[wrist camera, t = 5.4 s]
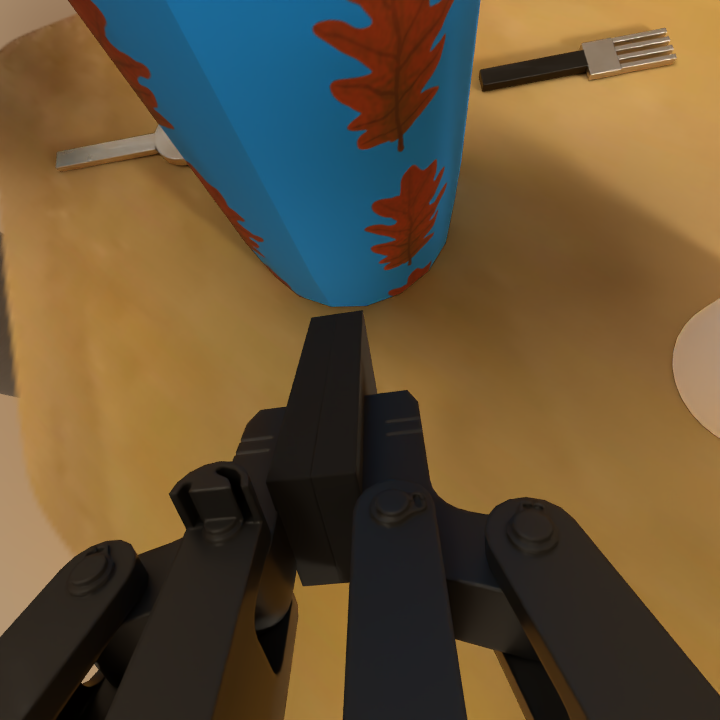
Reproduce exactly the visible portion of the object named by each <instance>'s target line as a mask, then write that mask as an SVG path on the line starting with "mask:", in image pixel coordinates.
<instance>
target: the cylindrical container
mask: <svg viewBox="0 0 720 720" xmlns="http://www.w3.org/2000/svg"><path fill="white" fill-rule="evenodd" d="M672 368H673V373H674V379H675V384H676V386H677V388H678V391H679V393H680V396H681V398H682V400H683V402H684V403H685V405H686V406H687V408H688V409H689V411H690V412H691V414H692V415H693V416H694V417H695V418H696V419H697V420H698V421H699V422H700V423H701V424H702V425H703V426H704V427H705V428H706V429H708V430H709V431H710V432H711V433H713V434H714V435H715V436H716V437H718V438H720V298H719V299H717V300H716V301H714V302H713V303H711V304H709V305H708V306H706V307H705V308H703V309H702V310H700V311H699V312H698V313H696V314H695V315H694V316H693V317H692V318H691V319H690V320H689V321H688V322H687V323H686V324H685V325H684V327H683V329H682V330H681V332H680V334H679V335H678V337H677V340H676V344H675V347H674V350H673V365H672Z"/></svg>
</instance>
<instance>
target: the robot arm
mask: <svg viewBox="0 0 720 720" xmlns="http://www.w3.org/2000/svg"><path fill="white" fill-rule="evenodd" d="M169 496H170V498H171V500H172V502H173V504H174V506H175V508H176V510H177V512H178V514H179V516H180V518H181V520H182V522H183V524H184V525H185V527H186V532H185V534H184V536H183V538H181V539H178V540H176V541H174V542H172V543H169V544H166V545H164V546H161V547H158V548H155V549H153V550H150V551H147V552H144V553H142V554H139V555H137V554H136V552H135V550H134V549H133V547H132V545H131V544H129V543H127V542H125V541H122V540H113V541H105V542H102V543H100V544H97V545H94V546H91V547H90V548H88V549H86V550H85V551H83V552H81V553H80V554H78V555H77V556H75V557H74V558H73V559H72V560H71V561H69V562H68V563H67V564H66V565H65V566H64V567H63V568H62V569H61V570H60V571H59V572H58V573H57V574H56V575H55V576H54V578H53V579H52V580H51V581H50V582H49V583H48V584H47V585H46V587H45V588H44V589H43V590H42V591H41V592H40V593H39V594H38V595H37V597H36V598H35V599H34V600H33V601H32V602H31V603H30V605H29V606H28V607H27V608H26V609H25V610H24V611H23V612H22V613H21V614H20V616H19V617H18V618H17V619H16V620H15V621H14V622H13V623H12V625H11V626H10V627H9V628H8V629H7V630H6V631H5V632H4V633H3V635H2V636H1V637H0V720H284V715H285V707H286V700H287V693H288V686H289V679H290V672H291V665H292V657H293V650H294V643H295V636H296V629H297V622H298V604H297V601H296V599H295V596H294V593H293V589H294V582H295V576H296V570H297V572H298V575H299V577H300V580H301V583H302V586H313V585H325V584H337V583H349V582H350V585H349V605H348V625H347V646H346V666H345V687H344V707H343V720H467V714H466V708H465V701H464V695H463V688H462V682H461V675H460V668H459V662H458V655H457V649H456V642H455V639H457V640H461V641H464V642H468V643H471V644H475V645H478V646H482V647H486V648H489V649H493V650H494V652H495V654H496V656H497V658H498V660H499V663H500V665H501V667H502V669H503V671H504V673H505V675H506V678H507V680H508V682H509V684H510V686H511V688H512V690H513V693H514V695H515V697H516V699H517V701H518V703H519V705H520V708H521V710H522V712H523V714H524V716H525V718H526V720H720V695H719V694H718V693H717V692H716V690H715V689H714V688H713V687H712V686H711V684H710V683H709V682H708V681H707V680H706V678H705V677H704V676H703V675H702V673H701V672H700V671H699V670H698V669H697V667H696V666H695V665H694V664H693V663H692V661H691V660H690V659H689V658H688V657H687V655H686V654H685V653H684V652H683V650H682V649H681V648H680V647H679V646H678V644H677V643H676V642H675V641H674V640H673V638H672V637H671V636H670V635H669V633H668V632H667V631H666V630H665V629H664V627H663V626H662V625H661V624H660V623H659V621H658V620H657V619H656V618H655V616H654V615H653V614H652V613H651V612H650V610H649V609H648V608H647V607H646V606H645V604H644V603H643V602H642V601H641V599H640V598H639V597H638V596H637V595H636V593H635V592H634V591H633V590H632V589H631V587H630V586H629V585H628V584H627V583H626V581H625V580H624V579H623V578H622V576H621V575H620V574H619V573H618V572H617V570H616V569H615V568H614V567H613V566H612V564H611V563H610V562H609V561H608V559H607V558H606V557H605V556H604V555H603V553H602V552H601V551H600V550H599V549H598V547H597V546H596V545H595V544H594V542H593V541H592V540H591V539H590V538H589V536H588V535H587V534H586V533H585V532H584V530H583V529H582V528H581V527H580V525H579V524H578V523H577V522H576V521H575V519H574V518H572V517H571V516H570V515H569V514H568V513H567V512H565V511H564V510H563V509H562V508H561V507H559V506H556V505H554V504H552V503H550V502H548V501H545V500H541V499H535V498H528V497H523V498H516V499H509V500H507V501H505V502H503V503H501V504H499V505H497V506H495V508H494V509H493V510H492V511H491V513H490V514H489V515H487V514H481V513H475V512H470V511H466V510H462V509H458V508H456V507H454V506H452V505H450V504H448V503H446V502H445V501H444V500H443V499H441V498H440V497H439V496H438V495H437V493H436V492H435V491H434V489H433V487H432V484H431V481H430V476H429V470H428V463H427V457H426V450H425V444H424V437H423V431H422V424H421V418H420V411H419V405H418V401H417V400H416V399H415V398H414V397H413V396H412V395H411V394H410V393H409V392H408V391H407V390H404V391H396V392H388V393H380V394H377V389H376V383H375V378H374V372H373V366H372V360H371V355H370V349H369V343H368V338H367V332H366V326H365V321H364V315H363V310H361V311H354V312H348V313H341V314H334V315H327V316H320V317H313V318H311V321H310V324H309V328H308V332H307V335H306V339H305V342H304V346H303V350H302V353H301V357H300V360H299V364H298V367H297V371H296V375H295V378H294V382H293V385H292V389H291V393H290V396H289V400H288V403H287V407H280V408H272V409H264V410H260V411H259V412H258V413H257V414H256V415H255V416H254V417H253V418H252V419H251V420H250V421H249V423H248V424H247V425H246V428H245V430H244V433H243V435H242V438H241V443H239V446H238V448H237V451H236V456H234V459H233V461H232V462H225V461H219V462H215V463H211V464H207V465H204V466H202V467H200V468H198V469H196V470H194V471H192V472H190V473H189V474H187V475H186V476H185V477H184V478H182V479H181V480H180V481H178V482H177V484H176V485H175V486H174V488H173V489H172V490H171V492H170V493H169ZM94 664H95V665H96V667H97V668H98V669H99V670H98V671H97V673H95V675H94V676H93V677H92V678H91V679H90V680H89V681H87V682H85V683H83V684H82V683H81V682H82V680H83V679H84V678H85V676H86V675H87V673H88V672H89V670H90V669H91V667H92V666H93V665H94Z"/></svg>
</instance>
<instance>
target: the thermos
mask: <svg viewBox="0 0 720 720" xmlns="http://www.w3.org/2000/svg"><path fill="white" fill-rule="evenodd" d="M68 1H69V2H70V4H71V5H72V6H73V8H74V9H75V11H76V12H77V13H78V15H79V16H80V17H81V19H82V20H83V21H84V23H85V24H86V26H87V27H88V28H89V30H90V31H91V32H92V34H93V35H94V37H95V38H96V39H97V41H98V42H99V43H100V45H101V46H102V47H103V49H104V50H105V52H106V53H107V54H108V56H109V57H110V58H111V60H112V61H113V62H114V64H115V65H116V67H117V68H118V69H119V71H120V72H121V73H122V75H123V76H124V77H125V79H126V80H127V82H128V83H129V84H130V86H131V87H132V88H133V90H134V91H135V92H136V94H137V95H138V97H139V98H140V99H141V101H142V102H143V103H144V105H145V106H146V108H147V109H148V110H149V112H150V113H151V114H152V116H153V117H154V118H155V120H156V121H157V123H158V124H159V125H160V127H161V128H162V129H163V131H164V132H165V133H166V135H167V136H168V138H169V139H170V140H171V142H172V143H173V144H174V146H175V147H176V148H177V150H178V151H179V153H180V154H181V155H182V157H183V158H184V159H185V161H186V162H187V164H188V165H189V166H190V168H191V169H192V170H193V172H194V173H195V174H196V176H197V177H198V179H199V180H200V181H201V183H202V184H203V185H204V187H205V188H206V189H207V191H208V192H209V194H210V195H211V196H212V198H213V199H214V200H215V202H216V203H217V204H218V206H219V207H220V209H221V210H222V211H223V213H224V214H225V215H226V217H227V218H228V220H229V221H230V222H231V224H232V225H233V226H234V228H235V229H236V230H237V232H238V233H239V235H240V236H241V237H242V239H243V240H244V241H245V243H246V244H247V245H248V246H249V247H250V248H251V249H252V251H253V252H254V253H255V254H256V255H257V256H258V257H259V259H260V260H261V261H262V262H263V263H264V264H265V265H266V267H267V268H268V269H269V270H270V271H271V272H272V273H273V274H274V276H275V277H277V278H278V279H279V280H280V281H281V282H283V283H284V284H285V285H286V286H288V287H289V288H290V289H291V290H292V291H294V292H295V293H296V294H297V295H299V296H300V297H303V298H306V299H309V300H312V301H316V302H319V303H322V304H325V305H328V306H331V307H338V306H367V305H370V304H373V303H376V302H378V301H381V300H384V299H387V298H389V297H392V296H395V295H398V294H400V293H402V292H403V291H404V290H406V289H407V288H408V287H409V286H411V285H412V284H413V283H414V282H415V281H417V280H418V279H419V278H420V277H422V276H423V275H424V274H425V273H427V272H428V271H429V269H430V268H431V266H432V264H433V263H434V261H435V259H436V258H437V256H438V255H439V253H440V251H441V250H442V248H443V246H444V245H445V243H446V239H447V234H448V230H449V225H450V220H451V215H452V210H453V205H454V200H455V195H456V189H457V183H458V178H459V172H460V166H461V160H462V151H463V143H464V134H465V126H466V118H467V109H468V101H469V92H470V84H471V75H472V67H473V58H474V50H475V42H476V33H477V25H478V16H479V8H480V0H68Z"/></svg>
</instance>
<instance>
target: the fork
mask: <svg viewBox="0 0 720 720" xmlns="http://www.w3.org/2000/svg"><path fill="white" fill-rule="evenodd" d="M666 33H667V30H666V28H662V29H657V30H651V31H646V32H641V33H636V34H631V35H626V36H620V37H615V38H612V39H611V38H607V39H602V40H597V41H591V42H586V43H582V44H581V46H580V49H579V51H575V52H570V53H564V54H559V55H554V56H549V57H544V58H538V59H533V60H528V61H523V62H518V63H512V64H507V65H502V66H497V67H492V68H486V69H481V70H480V73H479V80H480V84H481V89H482V92H484V91H490V90H495V89H500V88H506V87H511V86H516V85H521V84H527V83H532V82H537V81H543V80H548V79H553V78H559V77H564V76H569V75H575V74H580V73H585V72H586V74H587V77H588V80H593V79H599V78H604V77H610V76H615V75H619V74H622V73H628V72H633V71H638V70H644V69H649V68H654V67H660V66H665V65H670V64H673V63H674V62H675V60H676V58H677V57H676V54H671V52H672V51H673V46H672V45H669V46H667V45H668V43H669V42H670V38H669V36H668V37H664V36H665V35H666ZM670 54H671V55H670Z"/></svg>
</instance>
